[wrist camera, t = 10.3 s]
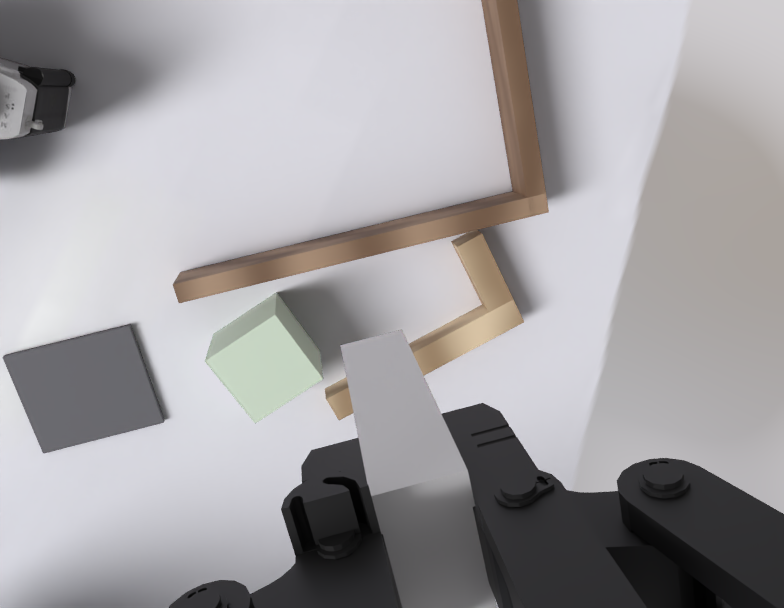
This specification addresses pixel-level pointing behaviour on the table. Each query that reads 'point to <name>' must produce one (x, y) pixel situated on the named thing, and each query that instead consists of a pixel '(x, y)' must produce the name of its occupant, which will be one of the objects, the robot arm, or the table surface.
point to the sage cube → (265, 358)
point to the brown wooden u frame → (425, 226)
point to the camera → (32, 99)
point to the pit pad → (85, 388)
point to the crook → (463, 331)
